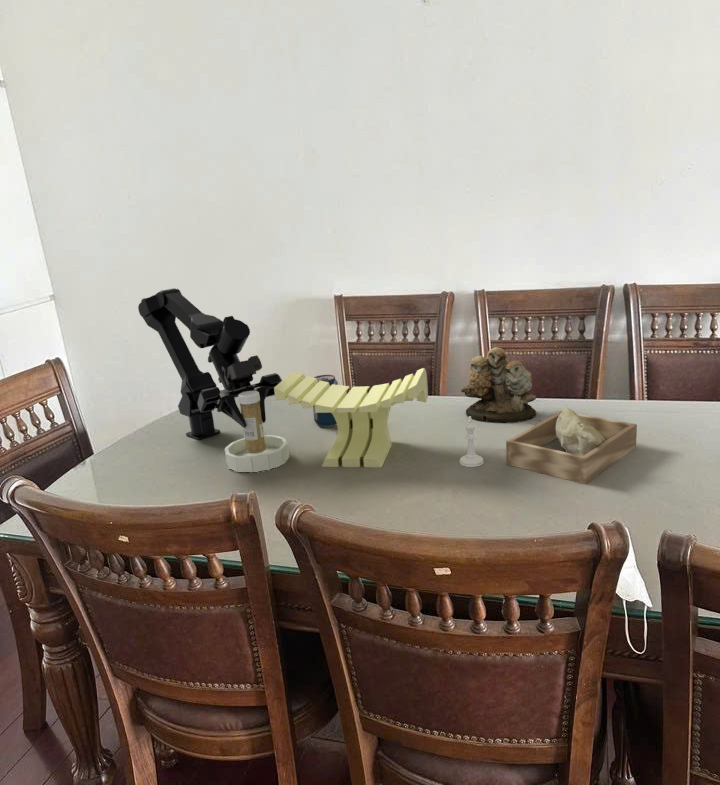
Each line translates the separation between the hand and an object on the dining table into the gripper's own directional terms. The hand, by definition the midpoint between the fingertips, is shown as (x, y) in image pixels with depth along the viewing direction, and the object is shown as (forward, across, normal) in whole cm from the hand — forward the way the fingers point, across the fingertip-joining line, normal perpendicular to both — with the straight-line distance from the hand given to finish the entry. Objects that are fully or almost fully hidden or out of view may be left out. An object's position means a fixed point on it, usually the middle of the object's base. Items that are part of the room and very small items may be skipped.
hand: (255, 424), depth 146 cm
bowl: (+6, 0, +7) cm, 9 cm away
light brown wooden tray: (+37, +50, -26) cm, 67 cm away
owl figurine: (+17, +58, -5) cm, 60 cm away
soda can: (-2, +24, +14) cm, 28 cm away
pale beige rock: (+39, +52, -27) cm, 70 cm away
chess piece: (+29, +33, -17) cm, 47 cm away
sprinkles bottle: (+4, 0, +6) cm, 7 cm away
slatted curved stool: (+14, +19, -2) cm, 24 cm away
